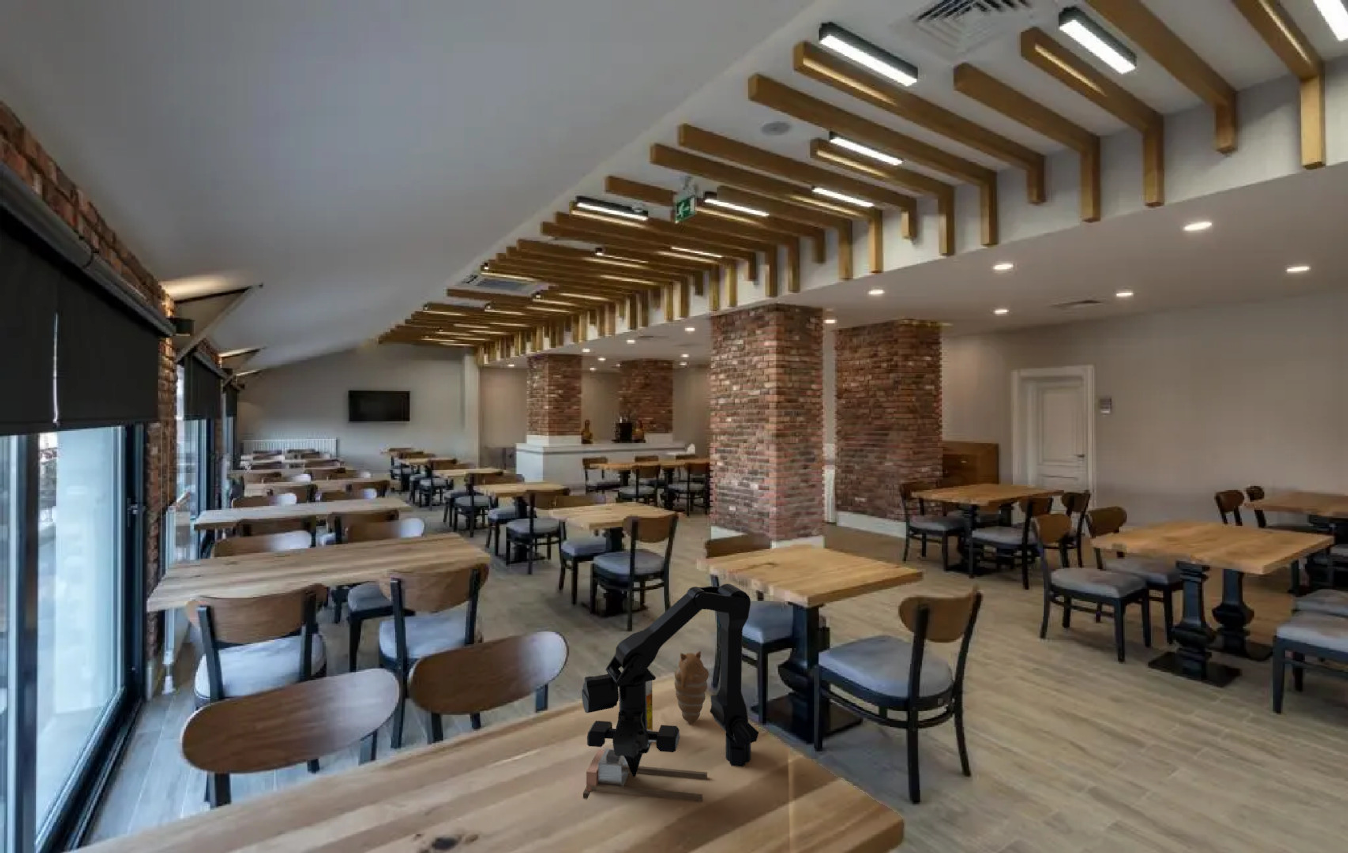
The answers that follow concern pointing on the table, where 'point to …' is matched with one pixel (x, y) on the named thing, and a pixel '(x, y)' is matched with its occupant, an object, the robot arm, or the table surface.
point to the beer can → (649, 705)
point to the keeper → (612, 769)
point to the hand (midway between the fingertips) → (634, 775)
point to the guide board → (594, 786)
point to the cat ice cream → (691, 685)
